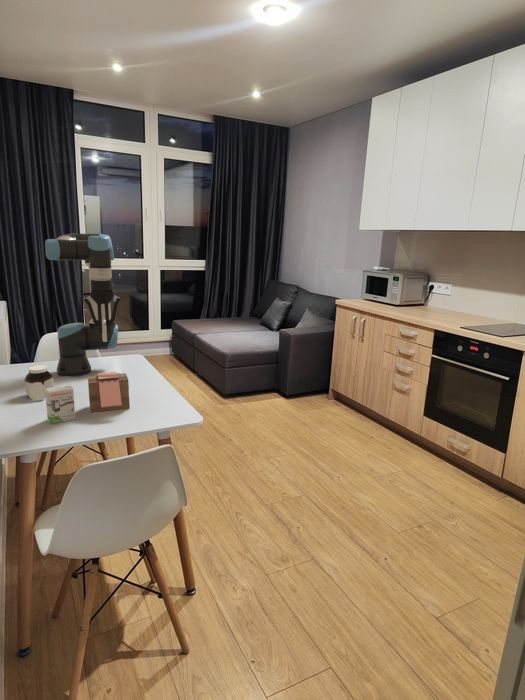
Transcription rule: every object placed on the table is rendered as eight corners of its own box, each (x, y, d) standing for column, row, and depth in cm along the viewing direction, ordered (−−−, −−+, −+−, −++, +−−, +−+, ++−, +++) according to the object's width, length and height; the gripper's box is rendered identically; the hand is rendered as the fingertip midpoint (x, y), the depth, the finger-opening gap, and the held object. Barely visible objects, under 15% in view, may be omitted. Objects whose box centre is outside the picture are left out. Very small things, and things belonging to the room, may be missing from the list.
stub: (98, 382, 161) (98, 381, 160) (118, 380, 164) (118, 379, 163) (101, 407, 157) (101, 406, 156) (121, 405, 159) (121, 404, 159)
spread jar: (47, 389, 186) (44, 363, 183) (62, 395, 180) (59, 368, 177) (18, 397, 176) (15, 369, 173) (33, 403, 170) (30, 375, 167)
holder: (89, 405, 170) (87, 373, 167) (127, 401, 175) (125, 370, 172) (90, 413, 163) (88, 380, 159) (129, 408, 168) (128, 376, 165)
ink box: (50, 424, 153) (47, 392, 150) (47, 419, 156) (44, 388, 153) (76, 419, 157) (73, 388, 154) (73, 414, 161) (70, 384, 158)
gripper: (82, 280, 155) (87, 344, 162) (120, 280, 161) (123, 342, 167) (81, 278, 162) (86, 339, 169) (118, 277, 167) (121, 337, 174)
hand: (104, 340), depth 168 cm, fingers closed
